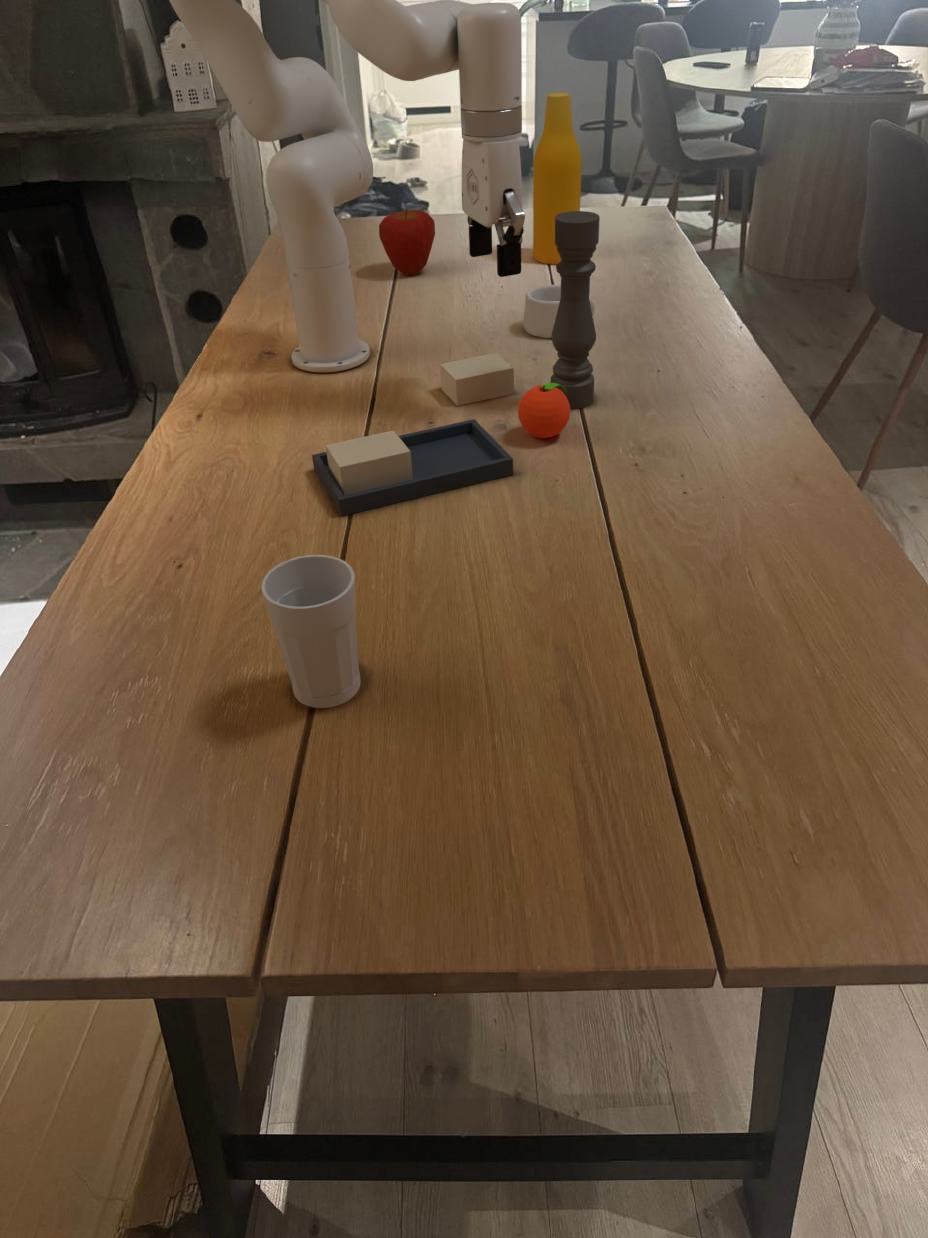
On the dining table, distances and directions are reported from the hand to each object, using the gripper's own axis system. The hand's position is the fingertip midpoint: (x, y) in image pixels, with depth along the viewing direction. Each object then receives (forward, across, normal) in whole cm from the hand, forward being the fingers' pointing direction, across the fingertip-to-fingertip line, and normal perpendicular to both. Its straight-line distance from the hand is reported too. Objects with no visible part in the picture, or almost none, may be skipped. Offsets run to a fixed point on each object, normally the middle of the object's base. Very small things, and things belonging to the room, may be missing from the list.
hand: (494, 264), depth 125 cm
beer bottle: (+19, -55, +36) cm, 68 cm away
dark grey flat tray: (+18, +17, -19) cm, 32 cm away
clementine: (+19, +15, +1) cm, 24 cm away
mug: (+19, -19, +19) cm, 33 cm away
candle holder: (+19, +7, +9) cm, 22 cm away
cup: (+19, +52, -40) cm, 68 cm away
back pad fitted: (+18, +17, -25) cm, 35 cm away
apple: (+19, -60, +7) cm, 63 cm away
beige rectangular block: (+19, -2, -2) cm, 19 cm away
